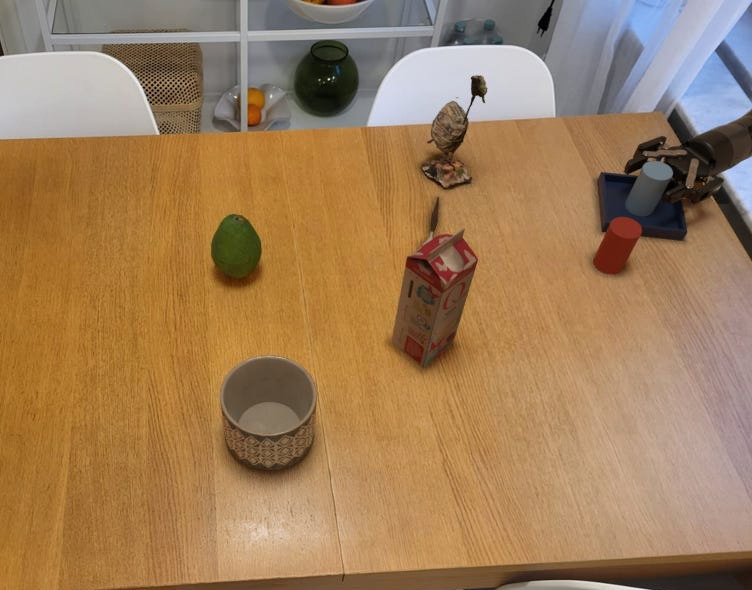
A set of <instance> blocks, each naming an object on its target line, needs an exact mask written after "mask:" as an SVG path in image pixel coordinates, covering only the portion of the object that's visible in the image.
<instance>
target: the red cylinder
mask: <svg viewBox="0 0 752 590" xmlns="http://www.w3.org/2000/svg"><path fill="white" fill-rule="evenodd" d="M641 233H642V228H641V226H640V224H639V223H638V222H636V221H635V220H633V219H631V218H627V217H618V218H615V219H613V220H612V221H611V223H610V225H609V227H608V229H607V231H606V232H605V233H604V236H603V238H602V240H601V241H600V244H599V246H598V248H597V250H596V253H595V254H594V257H593V260H592V262H593V265H594V267H595V268H596V269H597V270H598V271H600V272H602V273H604V274H607V275H615V274H619V273H621V271H622V270H623V269H624V267H625V265H626V263H627V262H628V260H629V258H630V256H631V254H632V253H633V250H634V248H635V246H636V245H637V243H638V241H639V239H640V237H641V236H640V235H641Z"/></svg>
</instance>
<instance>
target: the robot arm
mask: <svg viewBox="0 0 752 590" xmlns="http://www.w3.org/2000/svg"><path fill="white" fill-rule="evenodd" d="M667 140H668V138H667V137H666V136H664V135H661V136H658V137H654V138H652V139H650V140H647V141H644V142H642V143H639V144H638V145H637V147H636V149H635V151H634V152H633V153H634V154H633V155H632V158H630V159H628V160H627V162H626V163H625V166H624V170H623V174H626V175H631V174H633V173H634V172H636V171H639V170H641V169H642V167H643V165H644V164H645V163H647V162H649V161H650V160H649V159H652V161H659V162H662V163H665V164H667V165H668V166H669V167H670V168H671V169H672V171H673V175H672V177H671V179H674V180H675V181H679V183H680V184H679V186H678V187H676V188H674V189H672V190H669V191H667V192H666V193H665V195H664V196H663V198H662V200H661V202H662V203H664V204H667V203H669V204H671V203H674V202H676V201H678V200H681V199H682V200H687V199H688V200H690V201H689V202H690V203H691V204H693V205H698V204H700V203H701V202H703V201H705V200H707V199H708V198H710V197H712V196H714V195H716V194H717V193H718V192H719V190H720V189H721V187H722V185H723V183H724V182H725V179H724V178H723V177H721V176H718V177H715V176H717V175H719V174H721V173H724V172H726V171H728V170H730V169H732V168H734V167H736V166H737V165H739V164H740V163H741V162H743V161H745V160H748V159H751V158H752V108H751V109H750V110H748V111H747V112H745V113H744V114H743V115H742V116H741V117H739V118H737V119H735V120H732V121H730V122H728V123H726V124H722V125H719V126H716V127H713V128H711V129H708V130H706V131H704V132H702V133H700V134H697V135H695V136H694V137H691V138H689V139H686V140H685V141H684V142H682V143H681V144H679V145H677V146H676V145H674V146H673V145H672V146H671V145H670V144H668V143H667V142H666V141H667ZM662 159H663V161H662ZM703 183H704V184H703ZM695 184H703V185H701V186H700V187H698V188H695V186H694V185H695Z"/></svg>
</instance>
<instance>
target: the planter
mask: <svg viewBox="0 0 752 590" xmlns="http://www.w3.org/2000/svg"><path fill="white" fill-rule="evenodd" d="M317 399H318V391H317V385H316V382H315V380H314V378H313V376H312V375H311V373H310V372H309V371H308V370H307V369H306V368H305V367H304V366H303V365H301V364H300V363H299V362H296V360H293V359H290V358H288V357H285V356H280V355H274V354H264V355H257V356H253V357H249V358H247V359H244V360H242V361H240V362H238V364H236V365H235V366H233V367H232V368H231V369H230V370H229V371H228V373H227V374H226V375H225V377H224V379H223V381H222V383H221V385H220V388H219V403H220V411H221V412H220V413H221V419H222V427H223V436H224V440H225V443H226V445H227V448H228V449H229V451H230V453H231V454H232V456H234V457H235V458H236V459H237V460H238V461H239V462H240V463H242V464H244V465H245V466H247V467H250V468H253V469H255V470H261V471H277V470H282V469H285V468H289V467H291V466H292V465H294V464H296V463H298V462H299V461H300V460H301V459H303V458H304V457H305V456H306V455H307V453H308V452H309V450H310V449H311V447H312V445H313V443H314V440H315V432H316V418H317V417H316V416H317Z"/></svg>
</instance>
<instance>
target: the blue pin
mask: <svg viewBox="0 0 752 590" xmlns="http://www.w3.org/2000/svg"><path fill="white" fill-rule="evenodd" d="M648 161H649V162H647V163H645V164H644V165H643V167H642V168H641V169H640V172H639V173H638V175H637V176H638V177H637V180H636V182H635V184H634V186H633V188H632V190H631V192H630V194H629V196H628V198H627V200H626V202H625V207H626V209H627V210H628V211H629V212H630V213H632V214H634V215H636V216H642V217H644V216H649V215H651V214H652V213H653V211H654V209H655V207H656V206H657V204H658V202H659V200H660V198H661V196H662V194H663V192H664V191H665V189H666V187H667V185H668V183H669V181H670V179H672V175H673V171H672V169H671V168H670V167H669V166H668V165H667V164H665V163H663V161H660V162H659V161H653V160H648Z"/></svg>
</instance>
